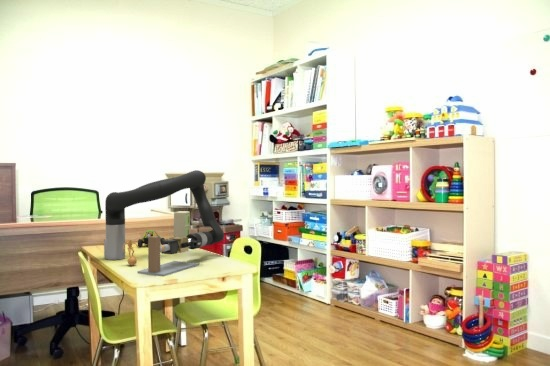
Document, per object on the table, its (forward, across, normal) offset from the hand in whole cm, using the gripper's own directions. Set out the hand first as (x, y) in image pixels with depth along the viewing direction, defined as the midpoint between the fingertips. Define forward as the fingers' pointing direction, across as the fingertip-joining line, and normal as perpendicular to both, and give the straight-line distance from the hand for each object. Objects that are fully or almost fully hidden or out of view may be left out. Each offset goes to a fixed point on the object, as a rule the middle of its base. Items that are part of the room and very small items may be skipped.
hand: (175, 245), depth 212 cm
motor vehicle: (-45, -51, +11) cm, 69 cm away
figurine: (+6, -21, +10) cm, 24 cm away
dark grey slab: (+5, 0, +3) cm, 6 cm away
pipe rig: (+4, 0, +10) cm, 11 cm away
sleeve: (-2, 0, +3) cm, 4 cm away
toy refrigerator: (-44, -28, +10) cm, 53 cm away
